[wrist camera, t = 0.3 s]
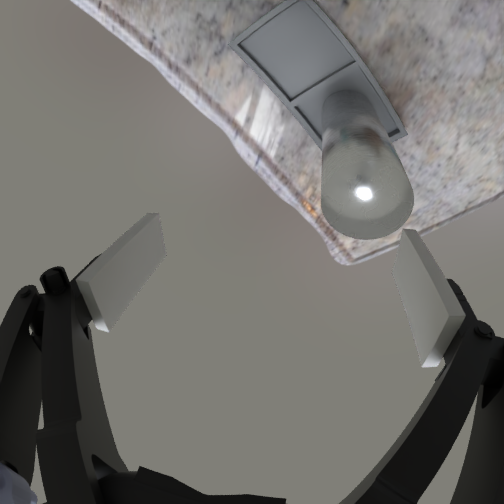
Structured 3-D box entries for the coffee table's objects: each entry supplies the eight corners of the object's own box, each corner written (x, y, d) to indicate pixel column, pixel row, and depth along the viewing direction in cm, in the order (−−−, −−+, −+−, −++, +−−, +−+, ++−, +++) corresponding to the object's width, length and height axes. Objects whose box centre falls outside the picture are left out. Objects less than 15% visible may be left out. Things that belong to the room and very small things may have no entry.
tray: (303, -9, 22) (302, -11, 21) (403, 128, 33) (408, 134, 31) (232, 42, 29) (227, 44, 28) (336, 163, 39) (336, 171, 38)
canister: (355, 80, 29) (389, 143, 16) (383, 124, 32) (426, 218, 19) (311, 106, 33) (301, 189, 20) (341, 146, 36) (349, 250, 23)
